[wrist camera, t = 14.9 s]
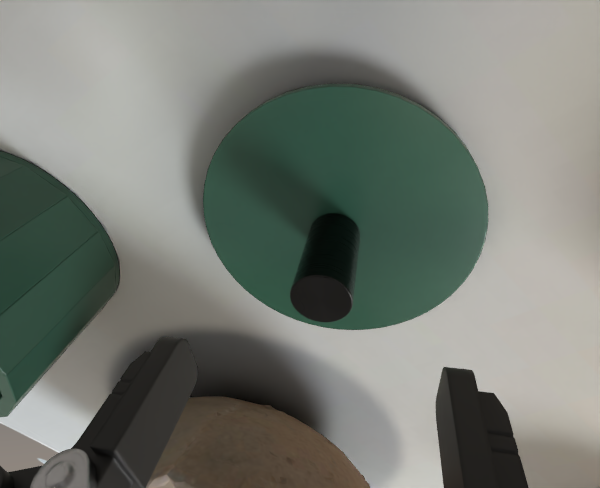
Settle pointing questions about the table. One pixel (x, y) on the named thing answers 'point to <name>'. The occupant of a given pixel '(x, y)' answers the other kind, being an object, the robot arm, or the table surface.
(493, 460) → the robot arm
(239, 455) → the bowl
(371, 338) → the table surface
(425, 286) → the tin lid
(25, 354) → the tin
